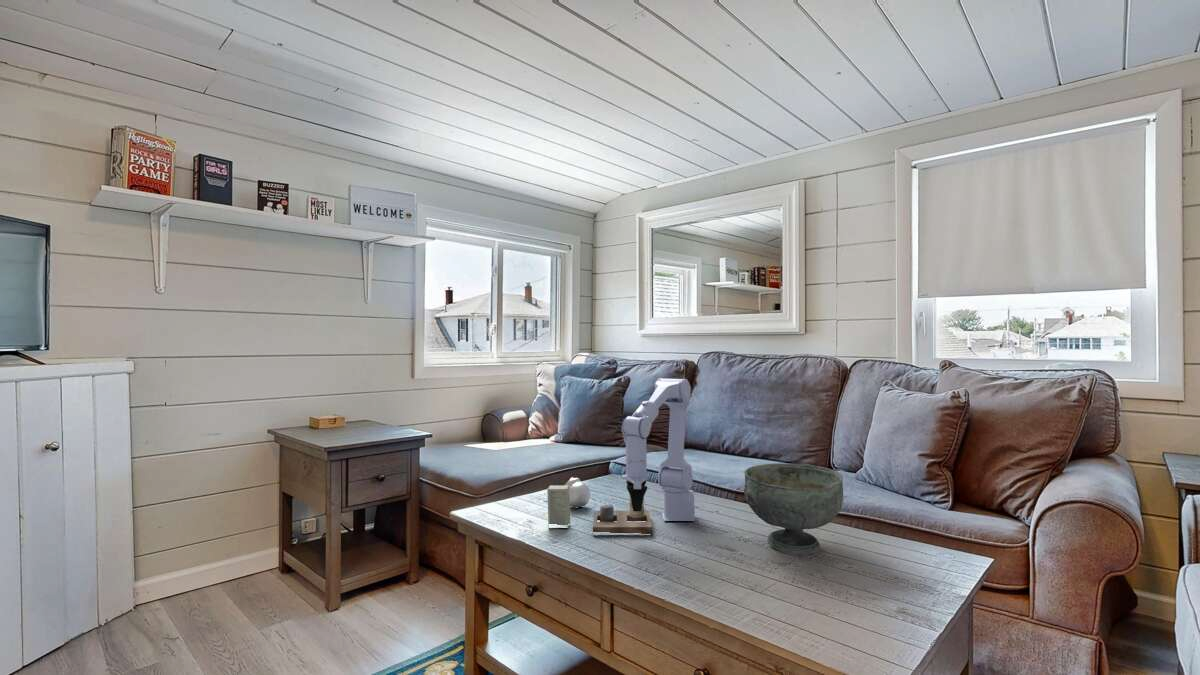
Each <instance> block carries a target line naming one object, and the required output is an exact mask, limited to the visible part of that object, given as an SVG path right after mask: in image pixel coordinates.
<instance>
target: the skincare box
mask: <svg viewBox="0 0 1200 675" xmlns="http://www.w3.org/2000/svg"><path fill="white" fill-rule="evenodd" d="M546 491H547V520H548V522H547V523H548V524H557V525H568V524H569V523H570V524H571V506H570V497H569V485H565V484H564V485H563V484H561V485H552V484H551V485H549V486H548V488H546ZM548 524H547V525H548Z"/></svg>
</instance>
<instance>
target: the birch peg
mask: <svg viewBox="0 0 1200 675" xmlns="http://www.w3.org/2000/svg"><path fill="white" fill-rule="evenodd" d="M628 494H629V493H628ZM628 499H629V511H630V517H633V518H641V517H644V510H645V497H644V498H643V504H642V509H641V511H633V508H632V502H631V497H630V494H629V497H628Z"/></svg>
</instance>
